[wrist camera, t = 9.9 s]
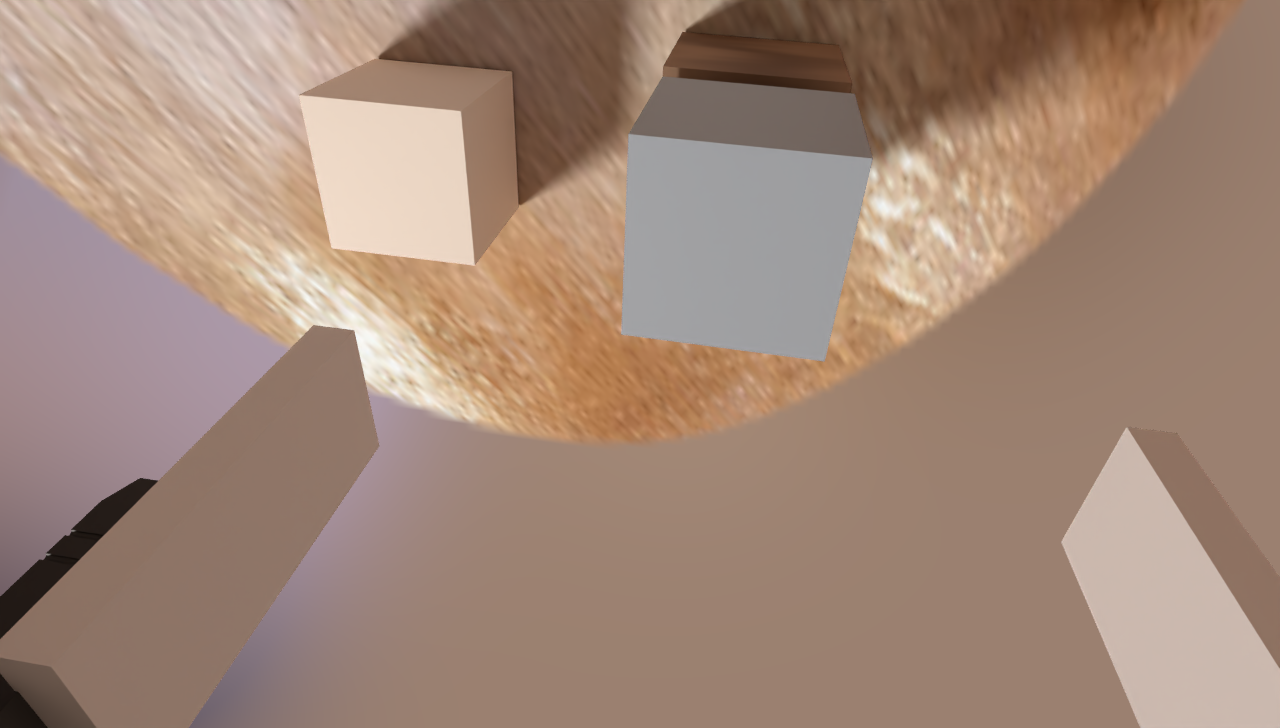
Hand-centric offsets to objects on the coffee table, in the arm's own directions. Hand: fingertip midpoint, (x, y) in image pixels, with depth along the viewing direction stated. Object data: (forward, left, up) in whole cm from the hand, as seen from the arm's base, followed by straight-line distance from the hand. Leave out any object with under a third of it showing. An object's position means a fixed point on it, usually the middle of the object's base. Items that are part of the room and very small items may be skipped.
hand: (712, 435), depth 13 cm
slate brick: (0, 0, -14) cm, 14 cm away
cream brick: (-13, -2, -21) cm, 24 cm away
